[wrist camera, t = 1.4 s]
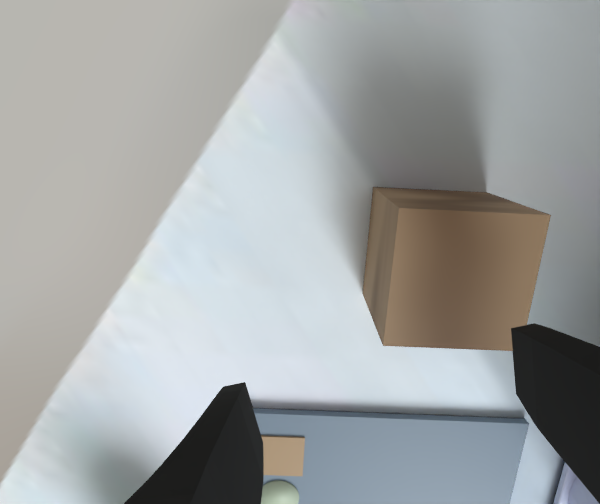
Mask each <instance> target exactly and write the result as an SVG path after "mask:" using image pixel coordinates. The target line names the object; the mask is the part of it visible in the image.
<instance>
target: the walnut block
mask: <svg viewBox="0 0 600 504" xmlns="http://www.w3.org/2000/svg"><path fill="white" fill-rule="evenodd" d="M550 216H551V215H549V214H546V213H543V212H540V211H537V210H535V209H532V208H529V207H526V206H523V205H521V204H518V203H515V202H512V201H509V200H506V199H504V198H501V197H498V196H495V195H492V194H490V193H487V192H466V191H445V190H425V189H404V188H383V187H373V193H372V204H371V214H370V224H369V234H368V244H367V255H366V265H365V275H364V285H363V296H364V298H365V301H366V303H367V306H368V308H369V311H370V314H371V316H372V319H373V321H374V324H375V326H376V329H377V331H378V334H379V336H380V339H381V342H382V344H383V346H405V347H430V348H454V349H479V350H504V351H513V347H512V334H511V328H515V327H520V326H525V325H527V321H528V316H529V312H530V307H531V303H532V298H533V294H534V289H535V284H536V280H537V275H538V271H539V266H540V262H541V257H542V253H543V248H544V243H545V239H546V234H547V230H548V225H549V221H550Z"/></svg>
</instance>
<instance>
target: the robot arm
mask: <svg viewBox="0 0 600 504" xmlns="http://www.w3.org/2000/svg"><path fill="white" fill-rule="evenodd" d="M511 334H512V347H513V360H514V372H515V385H516V394H517V396H518V397H519V399H520V401H521V402H522V404H523V406H524V407H525V409H526V411H527V412H528V414H529V415H530V417H531V418H532V420H533V422H534V423H535V425H536V426H537V428H538V429H539V430H540V432H541V433H542V434H543V435H544V437H545V438H546V439H547V440H548V442H549V443H550V444H551V445H552V447H553V448H554V449H555V450H556V451H557V453H558V454H559V455H560V456H561V458H562V459H563V460H564V461H565V464H564V467H563V471H562V474H561V478H560V482H559V485H558V489H557V492H556V496H555V499H554V503H553V504H600V347H598V346H595V345H593V344H590V343H587V342H585V341H582V340H580V339H577V338H574V337H572V336H569V335H566V334H564V333H561V332H558V331H556V330H553V329H550V328H547V327H544V326H541V325H538V324H529V325H525V326H520V327H515V328H511ZM263 476H264V456H263V440H262V437H261V434H260V430H259V427H258V424H257V420H256V417H255V414H254V410H253V407H252V404H251V400H250V397H249V394H248V390H247V387H246V384H245V382H244V383H239V384H234V385H230V386H225V387H223V388H222V389H221V390H220V392H219V393H218V394H217V395H216V397H215V398H214V399H213V401H212V402H211V404H210V405H209V406H208V408H207V409H206V410H205V412H204V413H203V414H202V416H201V417H200V418H199V420H198V421H197V422H196V423H195V425H194V426H193V427H192V429H191V430H190V431H189V433H188V434H187V435H186V436H185V438H184V439H183V440H182V441H181V442H180V444H179V445H178V446H177V447H176V448H175V450H174V451H173V452H172V453H171V454H170V455H169V457H168V458H167V459H166V460H165V461H164V463H163V464H162V465H161V466H160V467H159V468H158V469H157V471H156V472H155V473H154V474H153V475H152V476H151V477H150V478H149V479H148V480H147V481H146V482H145V483H144V484H143V485H142V486H141V487H140V488H139V489H138V490H137V491H136V492H135V493H134V494H133V495H132V496H131V497H130V498H129V499H128V500H127V501H126V502H125V503H124V504H261V498H262V489H263Z"/></svg>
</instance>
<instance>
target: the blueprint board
mask: <svg viewBox="0 0 600 504" xmlns="http://www.w3.org/2000/svg"><path fill="white" fill-rule="evenodd" d="M253 410H254V414H255V417H256V420H257V424H258V427H259V430H260V434H261V437H262V440H263V456H264V476H263V489H262V498H261V504H510V500H511V496H512V492H513V487H514V483H515V479H516V475H517V471H518V467H519V463H520V459H521V454H522V450H523V446H524V442H525V438H526V434H527V430H528V425H529V423H528V422H527V421H526V420H525V419H520V418H494V417H468V416H442V415H416V414H391V413H365V412H339V411H313V410H287V409H261V408H253Z"/></svg>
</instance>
